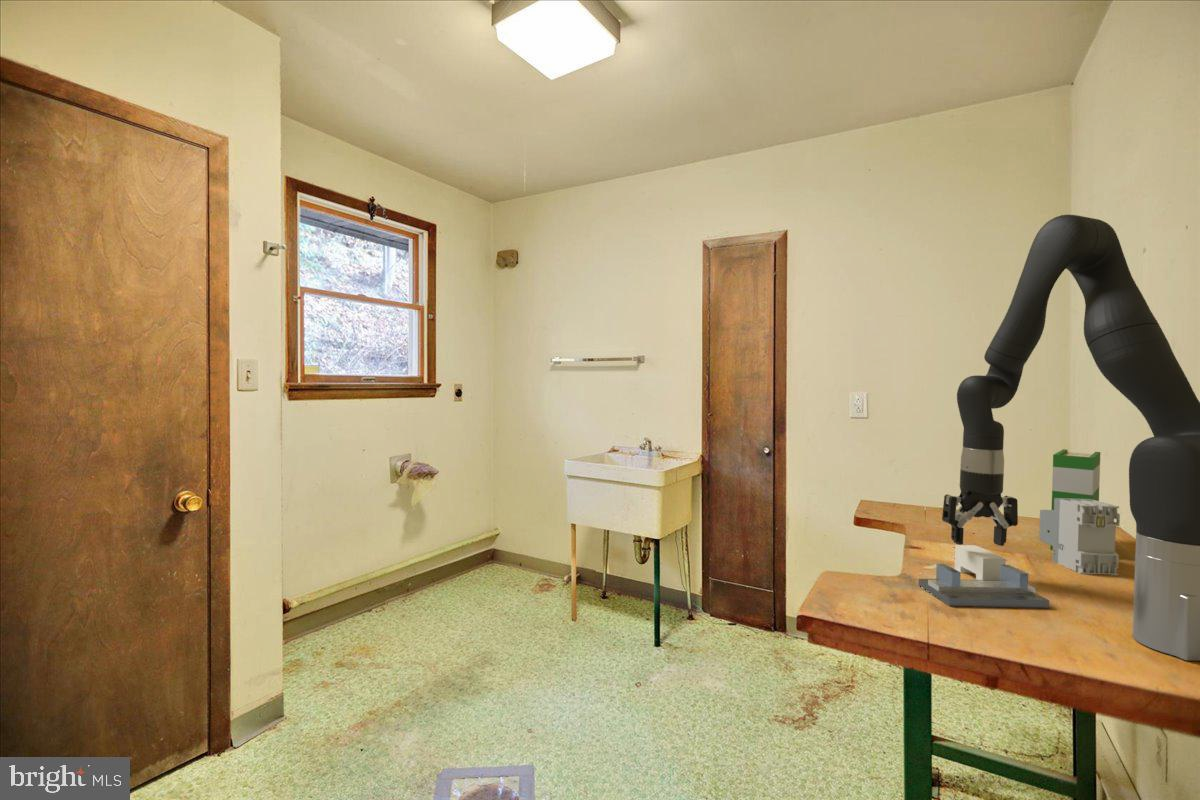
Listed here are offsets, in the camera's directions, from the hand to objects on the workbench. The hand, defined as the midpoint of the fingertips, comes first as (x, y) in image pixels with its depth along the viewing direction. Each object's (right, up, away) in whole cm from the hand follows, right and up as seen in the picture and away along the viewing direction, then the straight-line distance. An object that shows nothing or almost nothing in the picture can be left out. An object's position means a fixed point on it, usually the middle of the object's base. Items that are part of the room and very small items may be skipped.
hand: (978, 544), depth 114 cm
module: (0, -7, 0) cm, 7 cm away
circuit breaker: (+28, -7, +9) cm, 30 cm away
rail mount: (-7, -7, -11) cm, 15 cm away
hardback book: (+41, -7, +22) cm, 47 cm away
